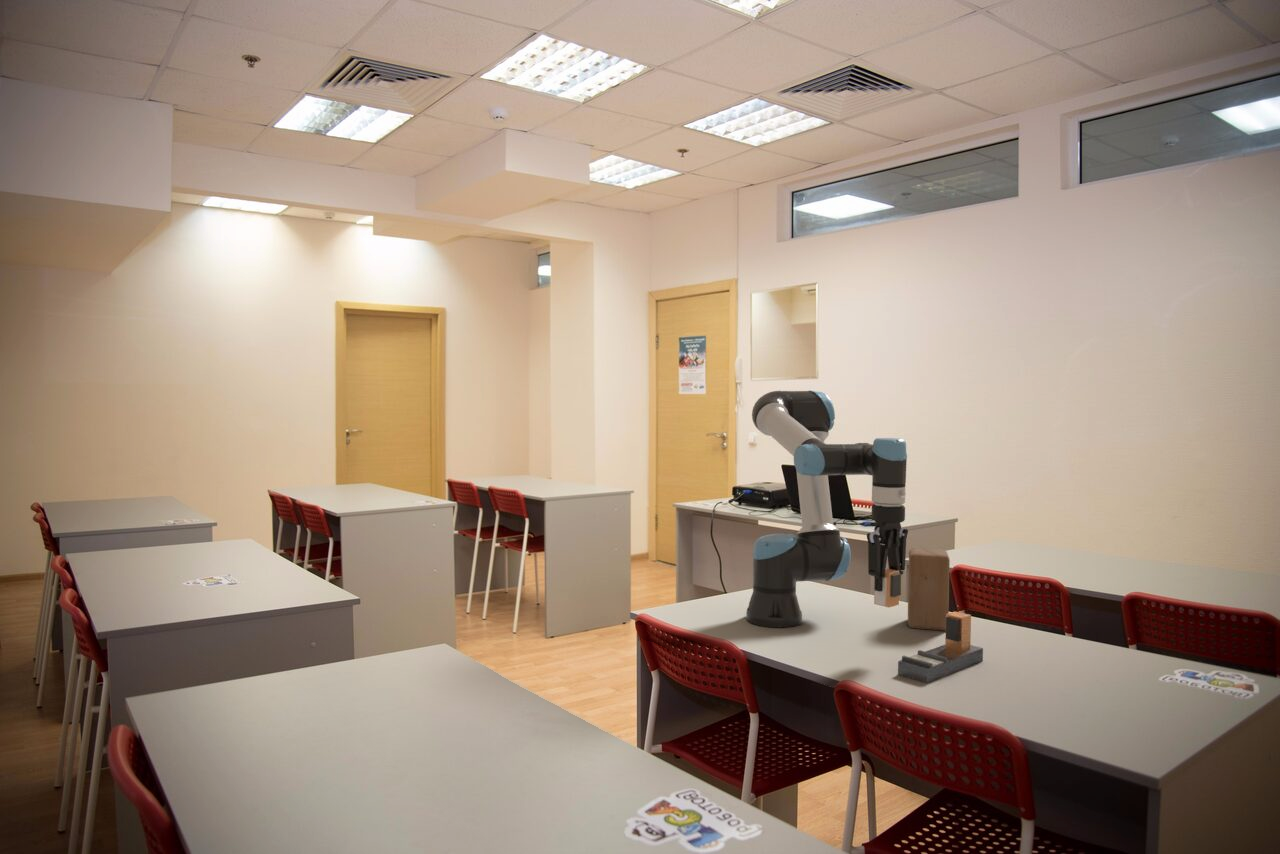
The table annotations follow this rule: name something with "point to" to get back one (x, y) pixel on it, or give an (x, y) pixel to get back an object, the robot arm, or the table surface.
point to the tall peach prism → (892, 587)
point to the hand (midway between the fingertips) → (886, 602)
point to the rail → (944, 653)
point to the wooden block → (928, 589)
